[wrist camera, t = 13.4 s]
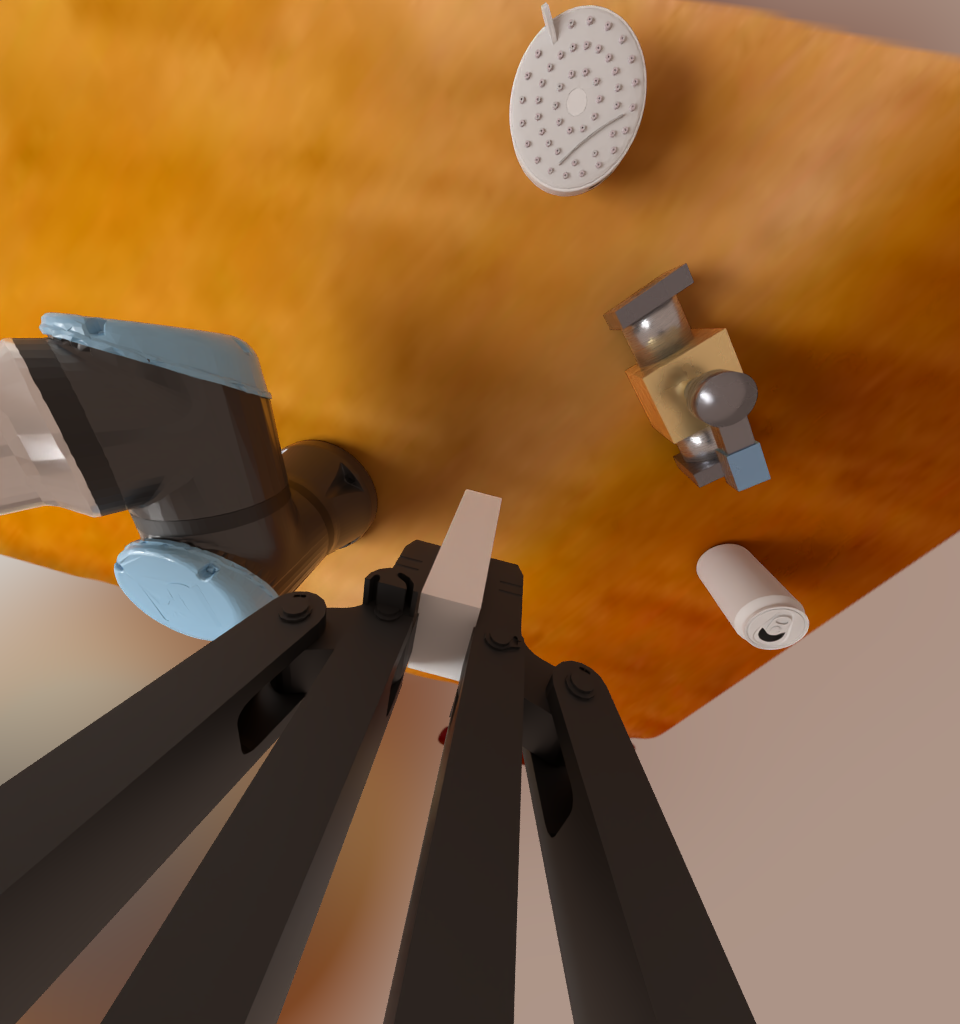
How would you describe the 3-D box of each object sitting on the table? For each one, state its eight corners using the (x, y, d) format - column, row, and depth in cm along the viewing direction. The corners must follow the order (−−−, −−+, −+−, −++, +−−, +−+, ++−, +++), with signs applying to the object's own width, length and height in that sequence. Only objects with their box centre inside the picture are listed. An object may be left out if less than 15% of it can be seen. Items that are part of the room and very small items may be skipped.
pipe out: (733, 440, 40) (764, 457, 35) (678, 467, 42) (699, 487, 37) (713, 393, 38) (742, 403, 33) (657, 424, 40) (675, 438, 35)
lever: (679, 386, 29) (690, 390, 27) (732, 358, 28) (749, 360, 26) (716, 485, 32) (729, 496, 30) (765, 465, 31) (783, 475, 29)
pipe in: (687, 332, 36) (714, 332, 31) (629, 368, 38) (644, 374, 33) (662, 273, 34) (686, 263, 29) (603, 315, 36) (614, 312, 31)
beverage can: (685, 576, 48) (729, 645, 38) (707, 535, 45) (760, 598, 35) (734, 586, 48) (791, 659, 37) (759, 546, 45) (829, 612, 34)
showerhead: (616, -69, 21) (671, 125, 25) (596, 23, 28) (642, 167, 31) (480, 59, 25) (545, 217, 28) (490, 116, 31) (542, 238, 34)
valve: (718, 390, 38) (772, 407, 29) (652, 426, 40) (684, 452, 32) (692, 328, 36) (742, 327, 27) (624, 371, 38) (651, 382, 30)
